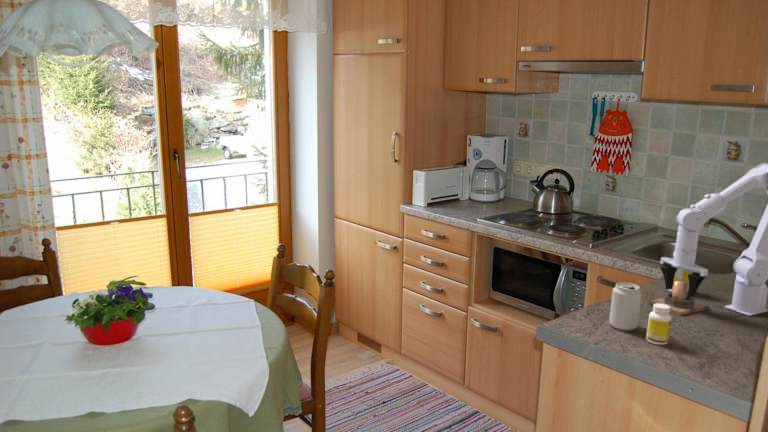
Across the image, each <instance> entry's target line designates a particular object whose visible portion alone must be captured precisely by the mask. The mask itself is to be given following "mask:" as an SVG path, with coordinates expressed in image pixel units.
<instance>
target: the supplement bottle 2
mask: <svg viewBox="0 0 768 432" xmlns="http://www.w3.org/2000/svg"><path fill="white" fill-rule="evenodd" d="M674 255H675V251H673V255H672V256H673V257H674ZM689 274H692V272H689V271H686V270H682V269H679V268H677V270H676V273H675V276H674V280H675V279H682V280H686V281H688V282H689V279H688V275H689ZM673 285H674V282H673ZM666 290H667V291H668V292H669V293H670V292H671V293H672V292H673V287H672V289H666ZM688 290H689V284H688ZM687 293H688V291H687Z"/></svg>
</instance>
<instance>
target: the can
mask: <svg viewBox="0 0 768 432" xmlns="http://www.w3.org/2000/svg"><path fill="white" fill-rule="evenodd" d="M642 292H643V291H641V287H640V285H637V284H635V283H631V282H622V281H621V282H617V283H615V287H613V288H612V293H611V302H610V309H609V311H610V312H609V319H608V322H609V324H610V325H611V326H612V328H614V329H616V330H620V331H625V332H626V331H633V330H635V329H637V328H638V327H639V320H640V319H639V318H640V311H641V310H640V309H641V301H642V294H643V293H642Z"/></svg>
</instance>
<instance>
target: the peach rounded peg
mask: <svg viewBox="0 0 768 432" xmlns="http://www.w3.org/2000/svg"><path fill="white" fill-rule="evenodd" d="M688 284H689V282H688V281H686V280H682V279H675V280H674V285H673V292H671V293H672V298H673V299H676V300H684V301H686V298H687V295H688V292H687V291H688V290H689V289H688Z"/></svg>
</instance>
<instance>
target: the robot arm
mask: <svg viewBox="0 0 768 432" xmlns="http://www.w3.org/2000/svg"><path fill="white" fill-rule="evenodd" d="M753 189H754V190H755V189H761V190H762V189H764V190H765V192H766V194H767V195H768V162H763V163H760V164H758V165H756V167H753V168H751V169H749V170H748V172H747V173H746V174H744V175H743V176H742V177H740V178H739V179H738V180H736V181H735V182H733V183H732V184H731V185H729V186H727V187H726V188H725V189H724V190H722V191H720V193H715V192H714V193H710V194H709V193H706V194H705V195H704V196H703V197H704V198H702V199H701V200H699V201H698V202H697V203H695V204H693V203H692V204H691V205H689V208H683V209H681V210H680V211H679V212H678V214H677V215H676V216H675V220H676V223H677V224H678V226H677V232H676V233H677V234H676V240H675V246H674V247H675V249H674V252H675V255H674V256H673V258H671V257H667V256H663V257H662V256H661V257H660V261H659V263H660V264H661V265H660V271H661V273H662V275H663V278H664V284H665V290H667V289H672V287H673V282H674V276H675V273H676V270H677V268H679V269H682V270H686V271H689V272H691V274H689V275H688V279H689V289H688V292H687V295H688V297H693V298H694V297H695V295H696V292H697V291H698V288H699V287H700V285H701V284H702V282H703V281H704V280H705V279H706V277H707V276H708V275H709V269H707V268H705V267H703V266H701V265H698V264H696V256H697V248H698V241H699V233H700V230H701V229H702V228H703V227H704V225H705V222H707V221H708V220H710V219H711V218H714V217H715V216H717V215H719V213H721V212H723V211H724V210H726V207H727V204H728V203H729V202H731V201H733V200H735V199H737V198H738V197H740V196H741V195H743V194H745V193H747V192H748V191H750V190H753ZM732 268H733V269H732V270H733V271H734V273H735V274H736V275H735V281H734V285H733V286H734V287H733V293H732V301H731V304H728V305H727V304H726V305H725V306H724V308H725V309H728V310H731V311H733V312H737V313H740V314H742V315H745V316H749V317H753V316H755V315H758V314H763V313H766V312H768V309H767V308H766V304H767V301H768V300H767V299H768V287H767V284H766V282H768V204H767V205H766V206H765V209H764V212H763V214H762V216H761V218H760V221H759V223H758V226H757V228H756V231H755V233H754V235H753V238H752V240H751V242H750V244H749V247H747V248H746V249H744V250H743V251H742V252H741V255H740V256H739V257H738V258H737V259H736V260H735V261H734V263H733V267H732Z"/></svg>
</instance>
